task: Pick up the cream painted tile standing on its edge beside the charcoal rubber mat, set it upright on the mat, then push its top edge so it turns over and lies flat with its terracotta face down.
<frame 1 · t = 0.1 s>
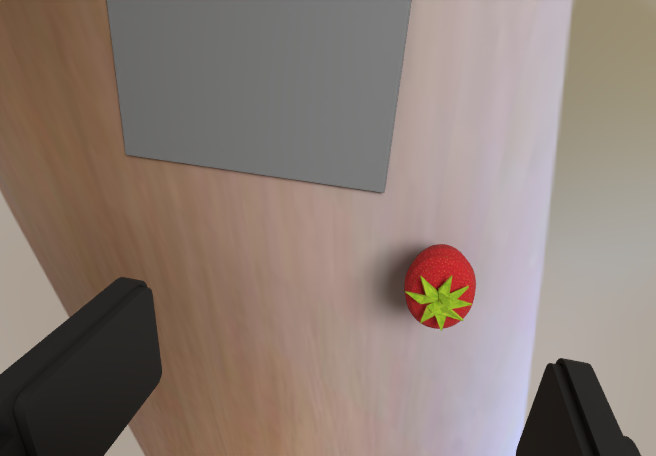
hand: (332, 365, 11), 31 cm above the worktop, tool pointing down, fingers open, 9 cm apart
mat: (251, 61, 39), on the worktop
strawberry: (438, 257, 43), on the worktop
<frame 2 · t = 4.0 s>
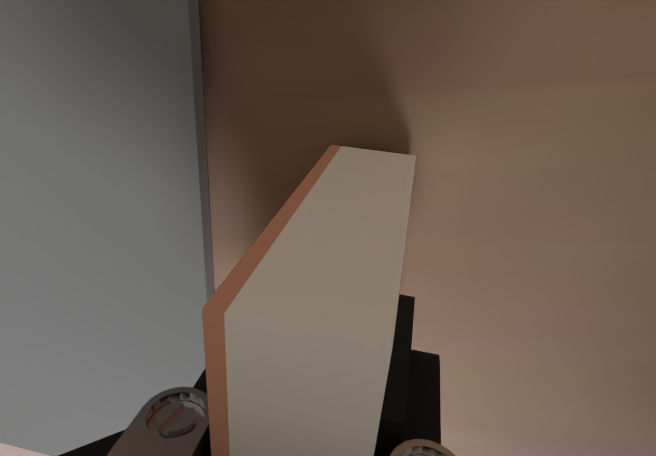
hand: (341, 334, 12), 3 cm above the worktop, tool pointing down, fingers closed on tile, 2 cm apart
tile: (358, 272, 14), on the worktop, touching gripper
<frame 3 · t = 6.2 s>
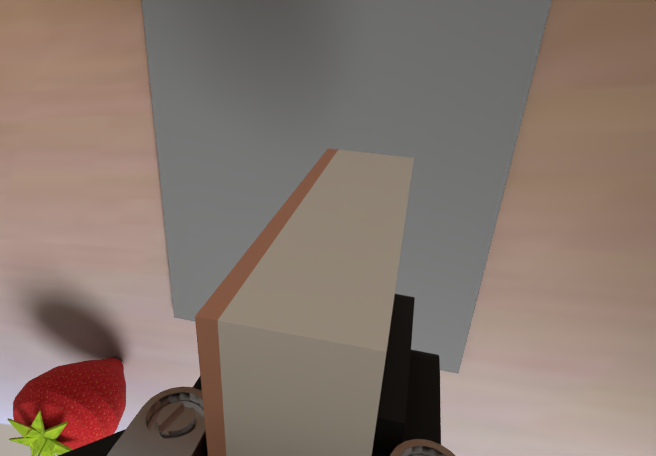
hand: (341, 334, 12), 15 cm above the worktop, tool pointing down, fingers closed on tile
mat: (321, 157, 26), on the worktop
strawberry: (117, 357, 37), on the worktop
tile: (358, 275, 14), point 12 cm above the worktop, touching gripper
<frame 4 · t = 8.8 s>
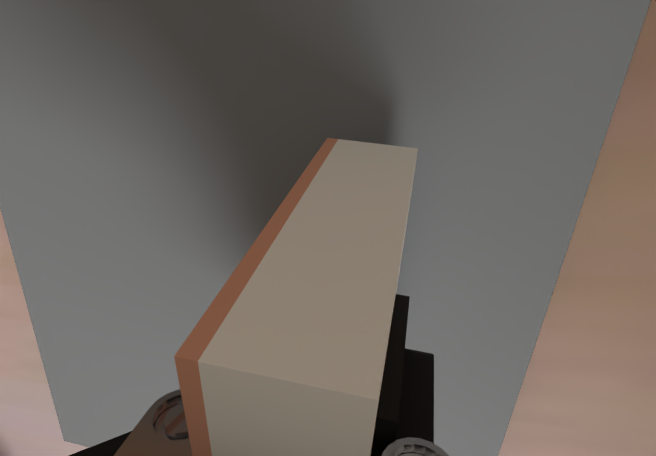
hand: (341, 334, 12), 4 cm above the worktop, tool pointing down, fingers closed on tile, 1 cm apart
mat: (253, 238, 16), on the worktop
tile: (360, 267, 14), point 2 cm above the worktop, tilted 5°, touching gripper
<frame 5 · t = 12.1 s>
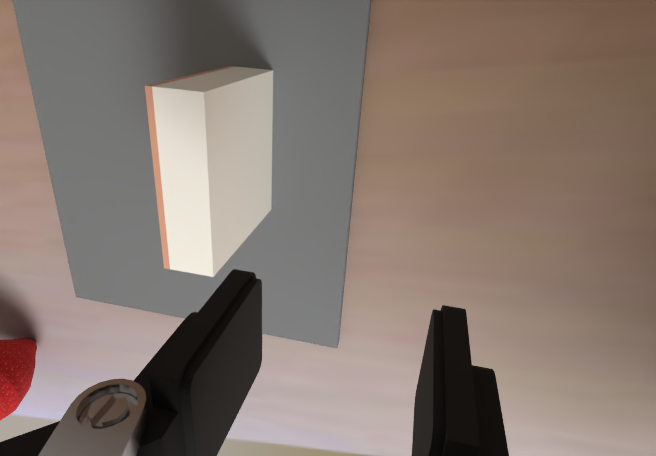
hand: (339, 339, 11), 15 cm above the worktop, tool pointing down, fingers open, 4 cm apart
mat: (191, 140, 27), on the worktop
strawberry: (32, 338, 38), on the worktop
tile: (252, 142, 26), point 1 cm above the worktop, touching mat
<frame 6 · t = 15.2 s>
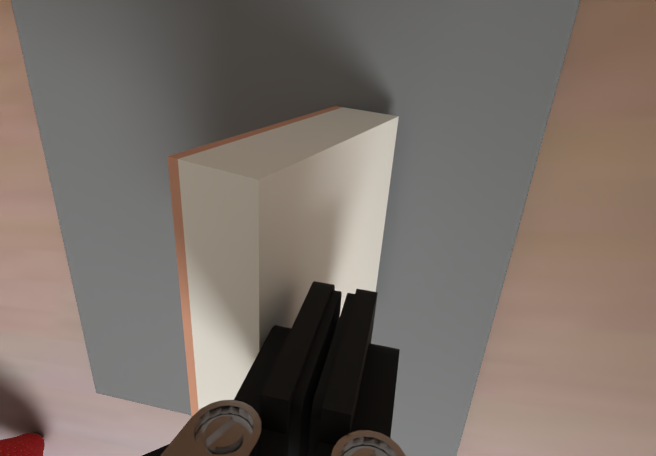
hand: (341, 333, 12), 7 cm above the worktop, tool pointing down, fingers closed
mat: (265, 204, 19), on the worktop
strawberry: (39, 431, 30), on the worktop
tile: (355, 215, 17), point 1 cm above the worktop, tilted 15°, touching mat
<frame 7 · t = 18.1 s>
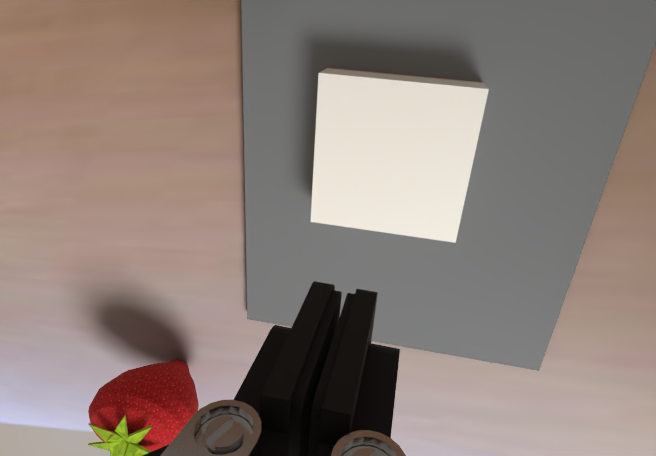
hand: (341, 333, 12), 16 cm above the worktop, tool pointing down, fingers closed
mat: (414, 158, 26), on the worktop
strawberry: (181, 360, 37), on the worktop
tile: (468, 164, 23), point 2 cm above the worktop, tilted 90°, touching mat
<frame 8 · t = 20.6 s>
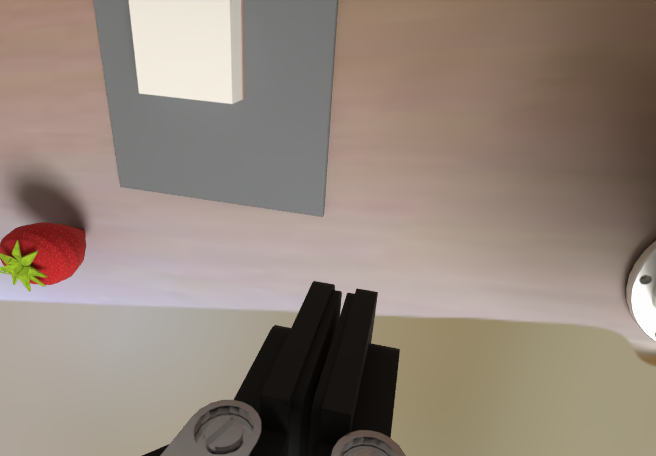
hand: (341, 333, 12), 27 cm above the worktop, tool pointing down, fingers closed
mat: (213, 50, 37), on the worktop
strawberry: (81, 229, 48), on the worktop
tile: (237, 48, 34), point 2 cm above the worktop, tilted 90°, touching mat
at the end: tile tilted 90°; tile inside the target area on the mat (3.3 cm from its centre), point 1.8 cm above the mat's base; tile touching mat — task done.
